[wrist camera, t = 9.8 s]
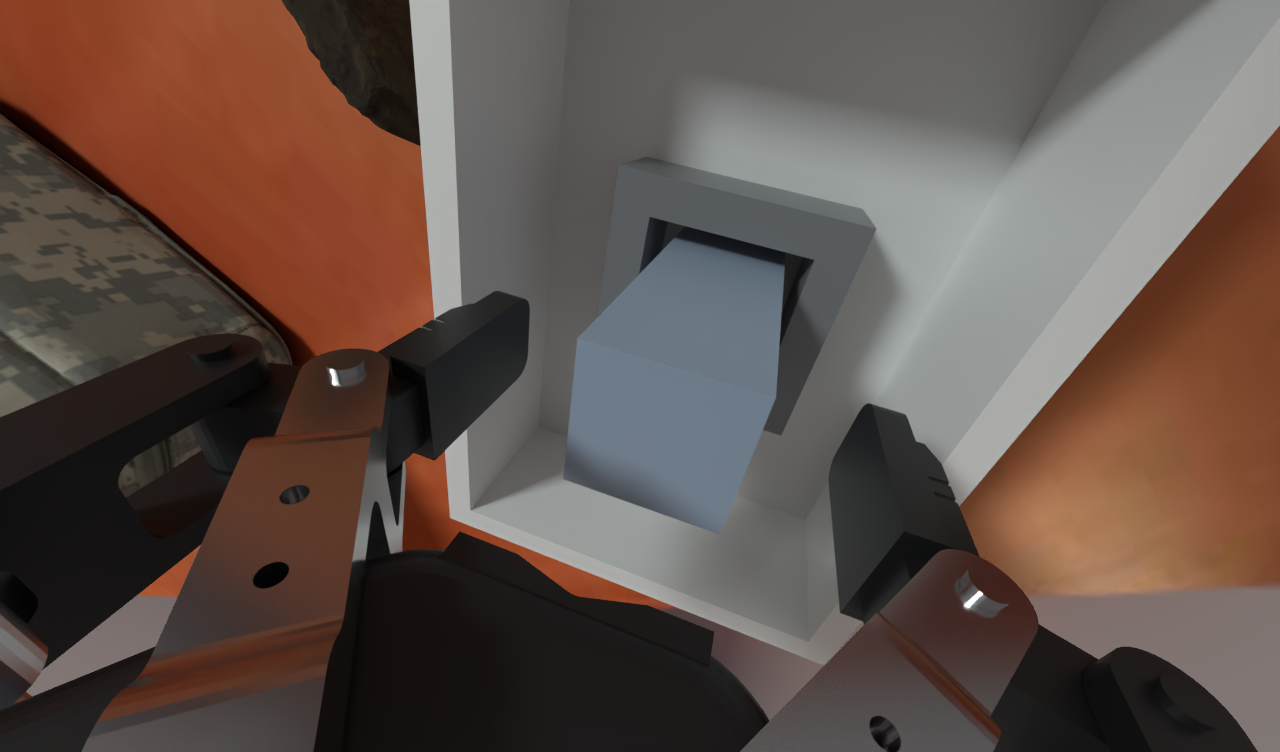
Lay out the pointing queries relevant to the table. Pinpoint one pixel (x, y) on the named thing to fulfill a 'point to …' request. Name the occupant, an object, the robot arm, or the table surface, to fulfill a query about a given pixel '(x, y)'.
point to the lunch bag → (97, 291)
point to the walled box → (816, 232)
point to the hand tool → (366, 56)
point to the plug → (679, 379)
